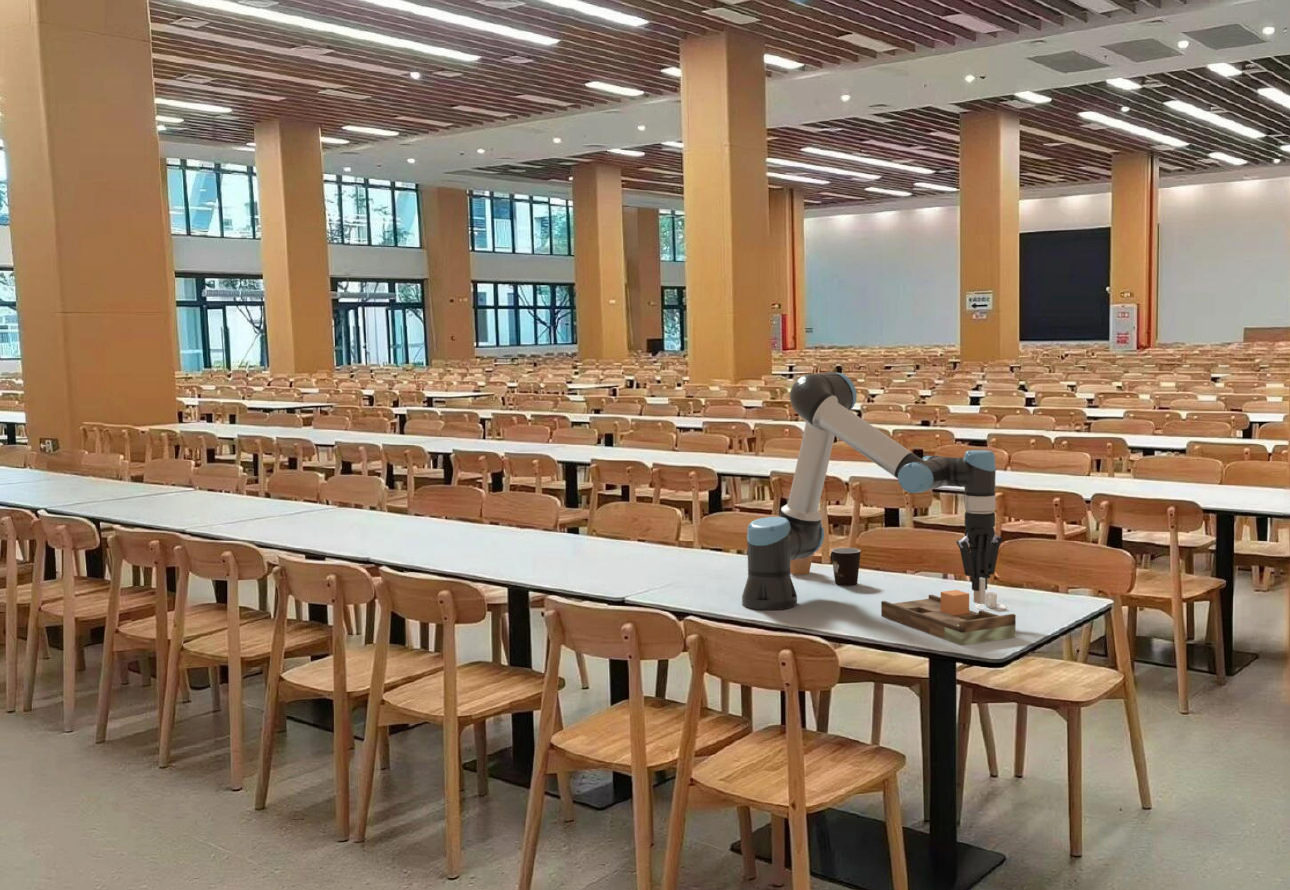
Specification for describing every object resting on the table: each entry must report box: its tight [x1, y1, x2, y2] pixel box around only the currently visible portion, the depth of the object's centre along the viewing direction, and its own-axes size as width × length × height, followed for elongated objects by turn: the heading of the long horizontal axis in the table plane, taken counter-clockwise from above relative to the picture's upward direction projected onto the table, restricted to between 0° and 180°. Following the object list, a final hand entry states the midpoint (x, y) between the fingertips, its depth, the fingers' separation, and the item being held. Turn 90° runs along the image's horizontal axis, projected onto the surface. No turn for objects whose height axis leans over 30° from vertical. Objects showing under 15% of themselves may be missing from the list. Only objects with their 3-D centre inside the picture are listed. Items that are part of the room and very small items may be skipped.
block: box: [940, 589, 970, 615], centre depth 308 cm, size 5×5×5 cm
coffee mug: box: [829, 547, 862, 587], centre depth 360 cm, size 12×9×10 cm
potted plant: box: [786, 498, 815, 576], centre depth 375 cm, size 10×10×25 cm
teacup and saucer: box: [975, 591, 1007, 611], centre depth 326 cm, size 9×8×4 cm
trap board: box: [880, 594, 1017, 646], centre depth 306 cm, size 16×33×6 cm, turn 24°
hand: (979, 602), depth 310 cm, fingers closed
